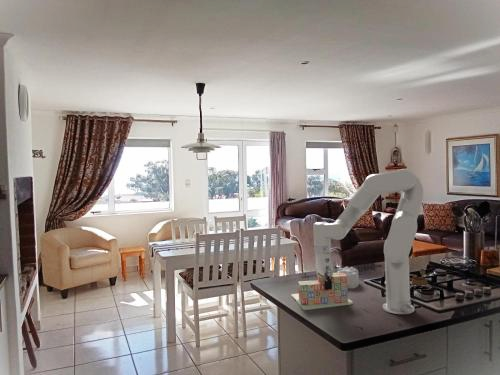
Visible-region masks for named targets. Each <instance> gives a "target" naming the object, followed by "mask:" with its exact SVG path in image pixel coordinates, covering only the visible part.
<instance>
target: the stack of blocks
mask: <svg viewBox="0 0 500 375" xmlns="http://www.w3.org/2000/svg"><path fill="white" fill-rule="evenodd" d="M326 277H328V276H326ZM297 285H298V286H297V287H298V293H299V301H300V304H301V305H313V304H331V303H348V299H349V297H348V296H349V293H348V292H349V290H348V289H349V288H348V284H347V276H346V275H345V274H344V273H337V272H333V275H332V289H331V290H325V278H324V276H323V275H321V274H317V275H316V280H315V279H314V280H301V281H300V280H299V281H297Z"/></svg>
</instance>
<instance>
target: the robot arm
mask: <svg viewBox="0 0 500 375" xmlns="http://www.w3.org/2000/svg"><path fill="white" fill-rule="evenodd" d="M397 192H400V198H399V202H398V204H397V208H396V211H395V214H394V216H393V218H392V220H391V225H390V230H389V232H388V235H387V237H386V239H385V241H384V244H383V254H384V272H385V276H384V277H385V278H384V280H385V299H386V300H385V301H386V302H385V303H383V304H382V309H383V311H385V312H386V313H390V314H394V315H411V314H413V313H414V312H415V307H414V305H413V304H412V301H411V289H410V287H411V285H410V283H409V282H410V260H409V259H410V256H409V255H410V252H411V250H412V247H413V244H414V240H415V238H416V234H417V231H418V217H419V214H420V211H421V207H422V203H423V200H424V188H423V185H422V182H421V180H420V179H419V177H417V175H416V174H415V173H414V172H413V171H412V170H411V169H407V168H401V169H397V170H392V171H386V172H380V173H373V174H370V175H368V176H367V177H366V178H365V179H364V182H362V184H361V185H360V187H358V189H357V190H356V191H355V193H354V194H353V195H352V197H351V198H350V199H349V201H348V202H347V205H346V207H345V208H344V210H343V211H342V213H340V214H339V216H338V217H337V218H336V220H335V221H334V222H333V223H332V222H331V223H329V222H327V221H317V222H314V223H313V225H312V226H313V227H312V228H313V251H314V254H315V256H314V257H315V260H314V261H315V275H316V276H317V274H321V275H323V276H324V278H325V290H331V289H332V275H333V273H334V268H333V259H332V242H331V241H332V240H338V241H339V240H342V239H344V238H345V237H346V236H347V234H348V233H349V232H350V231H351V229H352V228H353V226H354V225H356V223H357V221H358V220H359V219H360V218H361V217H362V216H363V215H365V213H366V212H368V210H369V209H370V207H371V206H372V205H373V204H374V203H375V201H376V200H377V199H378V198H379V197H380V196H381V195H385V194H391V193H397ZM326 276H328V277H326Z"/></svg>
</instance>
